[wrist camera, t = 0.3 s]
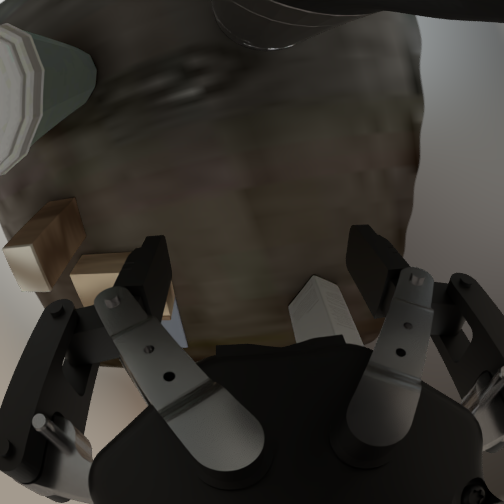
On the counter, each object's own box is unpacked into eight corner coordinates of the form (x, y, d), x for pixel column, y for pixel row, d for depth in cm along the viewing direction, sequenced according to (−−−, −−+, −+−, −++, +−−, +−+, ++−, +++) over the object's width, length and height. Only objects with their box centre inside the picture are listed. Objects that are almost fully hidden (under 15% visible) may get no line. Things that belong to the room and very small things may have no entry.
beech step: (82, 254, 32) (69, 275, 29) (164, 249, 33) (158, 272, 29) (98, 297, 36) (89, 319, 33) (175, 296, 37) (170, 320, 33)
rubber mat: (98, 297, 36) (98, 299, 36) (175, 296, 37) (174, 297, 36) (120, 345, 42) (120, 346, 41) (187, 345, 42) (187, 347, 42)
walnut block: (48, 201, 28) (2, 248, 20) (75, 197, 28) (30, 246, 20) (60, 238, 31) (22, 291, 22) (86, 236, 31) (50, 291, 23)
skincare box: (312, 314, 40) (333, 388, 30) (285, 305, 39) (302, 383, 29) (339, 282, 37) (371, 356, 27) (311, 271, 36) (339, 349, 26)
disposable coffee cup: (113, 18, 18) (19, -11, 6) (126, 119, 24) (40, 167, 12) (27, 55, 18) (-78, 72, 6) (41, 144, 24) (-52, 206, 12)
